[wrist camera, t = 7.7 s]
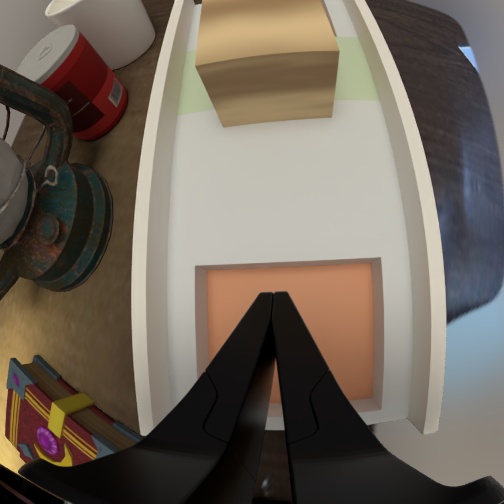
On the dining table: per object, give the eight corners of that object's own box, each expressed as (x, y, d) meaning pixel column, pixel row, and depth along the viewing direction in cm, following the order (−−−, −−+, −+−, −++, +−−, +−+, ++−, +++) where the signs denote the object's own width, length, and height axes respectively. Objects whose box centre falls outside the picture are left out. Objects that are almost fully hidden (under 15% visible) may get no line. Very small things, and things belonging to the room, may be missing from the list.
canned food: (113, 75, 28) (65, 17, 18) (142, 104, 27) (86, 34, 16) (66, 119, 28) (9, 72, 18) (87, 156, 27) (16, 104, 16)
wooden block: (331, 117, 20) (339, 50, 13) (223, 127, 21) (194, 66, 14) (307, 23, 22) (304, -34, 15) (224, 32, 23) (205, -23, 16)
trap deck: (407, 403, 19) (437, 431, 13) (176, 408, 21) (140, 435, 15) (345, 11, 25) (348, -27, 20) (193, 24, 28) (178, -11, 22)
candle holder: (88, 56, 30) (43, 4, 19) (147, 15, 30) (113, -44, 18) (103, 88, 28) (46, 25, 16) (173, 40, 28) (134, -34, 16)
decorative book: (127, 509, 20) (104, 531, 15) (22, 422, 24) (-6, 431, 19) (155, 441, 21) (127, 465, 16) (35, 347, 25) (0, 350, 20)
